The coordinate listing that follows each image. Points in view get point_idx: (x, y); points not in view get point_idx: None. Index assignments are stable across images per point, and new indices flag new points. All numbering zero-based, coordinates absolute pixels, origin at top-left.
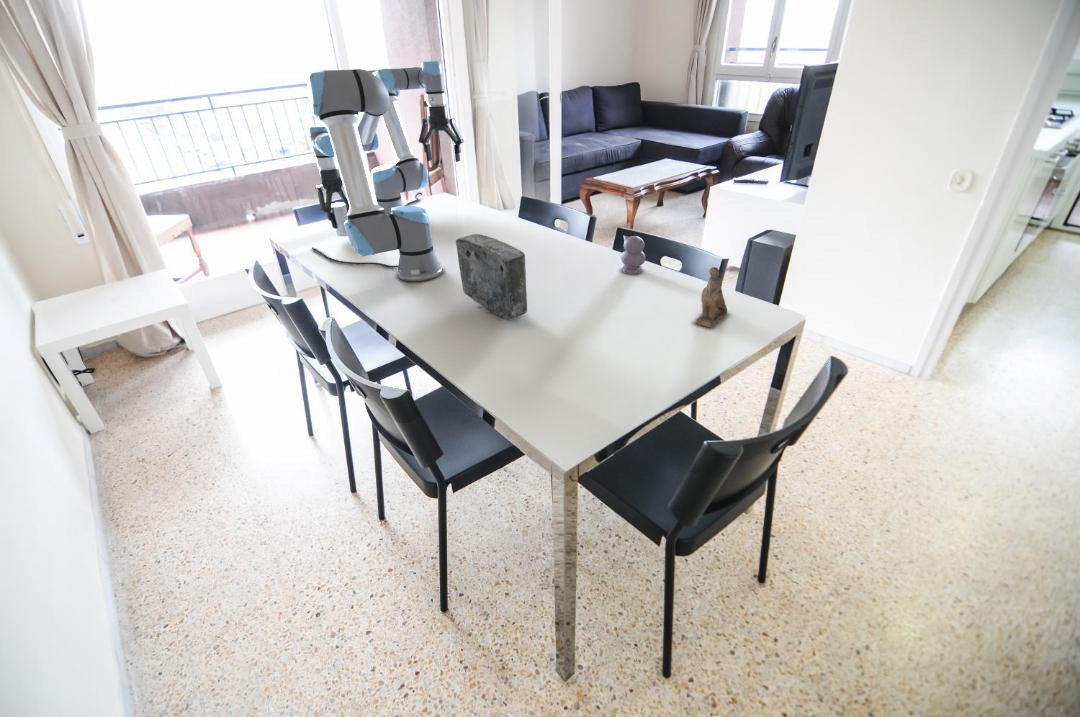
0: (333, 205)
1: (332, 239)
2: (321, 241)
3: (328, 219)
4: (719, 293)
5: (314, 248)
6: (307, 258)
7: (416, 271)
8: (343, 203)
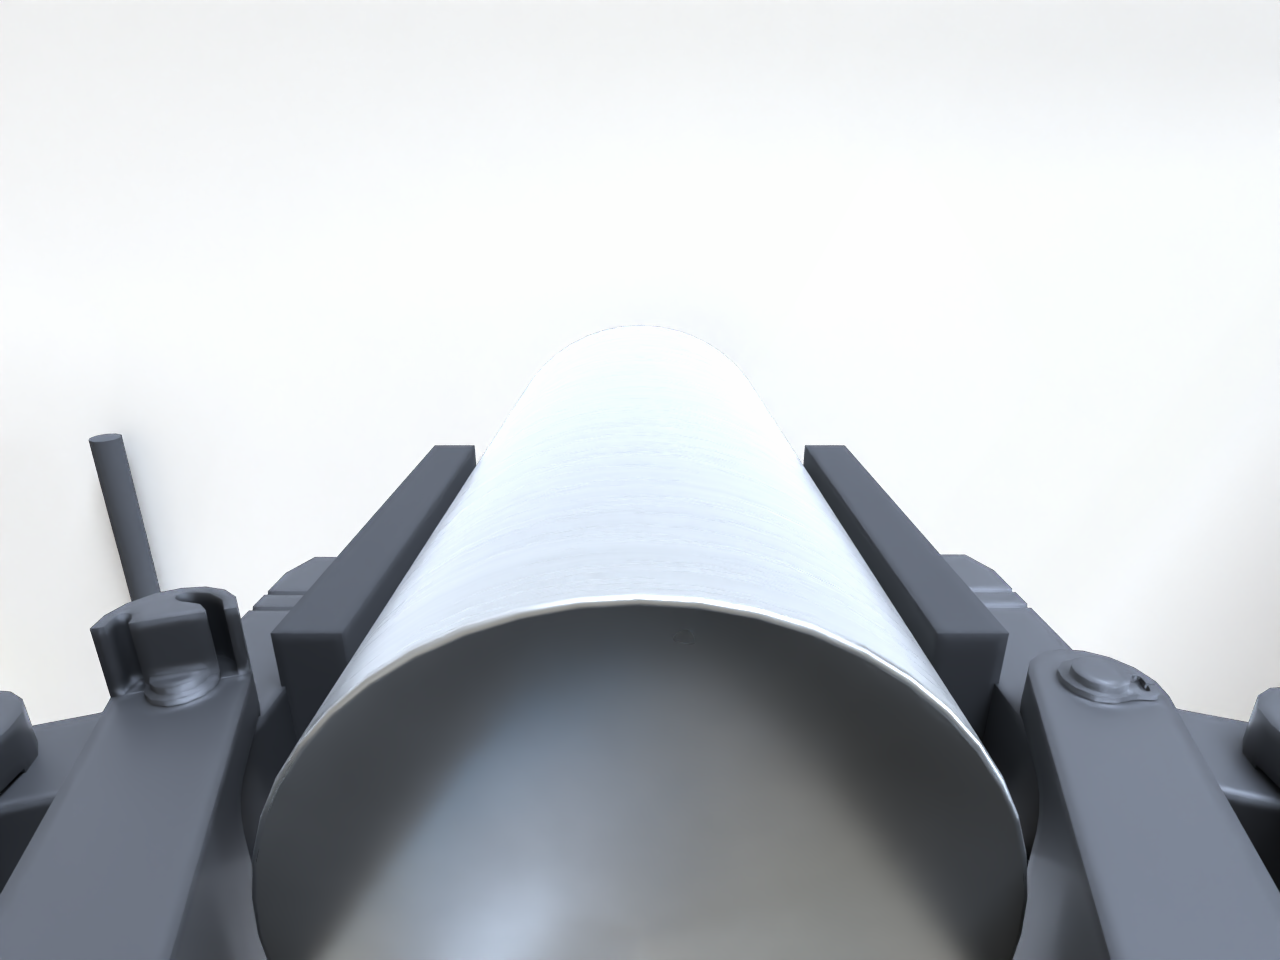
0: (429, 919)
1: (508, 168)
2: (322, 117)
3: (295, 571)
4: None
5: (112, 510)
6: (5, 687)
7: None
8: (946, 944)
